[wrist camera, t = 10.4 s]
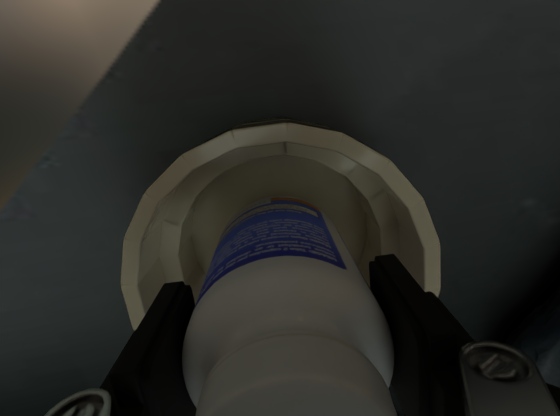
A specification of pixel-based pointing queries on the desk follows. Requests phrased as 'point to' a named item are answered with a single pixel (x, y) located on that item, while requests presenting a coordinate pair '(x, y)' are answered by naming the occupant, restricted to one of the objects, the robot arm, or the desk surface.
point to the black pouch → (541, 338)
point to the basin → (267, 183)
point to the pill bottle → (286, 322)
